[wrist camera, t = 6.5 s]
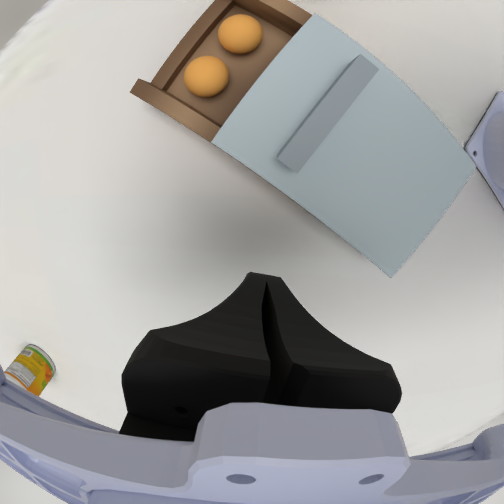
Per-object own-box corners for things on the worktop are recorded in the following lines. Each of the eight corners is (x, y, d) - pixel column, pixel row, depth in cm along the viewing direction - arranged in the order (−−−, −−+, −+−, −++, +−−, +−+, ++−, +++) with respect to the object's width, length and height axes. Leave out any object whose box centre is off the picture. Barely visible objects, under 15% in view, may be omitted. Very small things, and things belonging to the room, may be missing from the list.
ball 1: (239, 74, 17) (235, 64, 14) (215, 107, 18) (206, 102, 15) (206, 54, 16) (196, 43, 14) (182, 87, 17) (169, 80, 15)
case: (391, 102, 17) (415, 98, 14) (311, 206, 21) (320, 220, 17) (233, -6, 15) (226, -29, 11) (152, 98, 18) (129, 92, 15)
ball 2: (271, 36, 16) (272, 21, 13) (247, 65, 16) (243, 54, 14) (237, 17, 15) (233, 1, 12) (213, 45, 16) (204, 33, 13)
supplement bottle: (51, 379, 31) (20, 426, 22) (24, 354, 30) (-11, 398, 21) (59, 364, 30) (23, 416, 21) (29, 336, 28) (-11, 384, 19)
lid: (471, 165, 15) (494, 171, 13) (387, 274, 18) (402, 293, 16) (313, 16, 12) (320, -1, 10) (212, 142, 16) (203, 143, 13)
